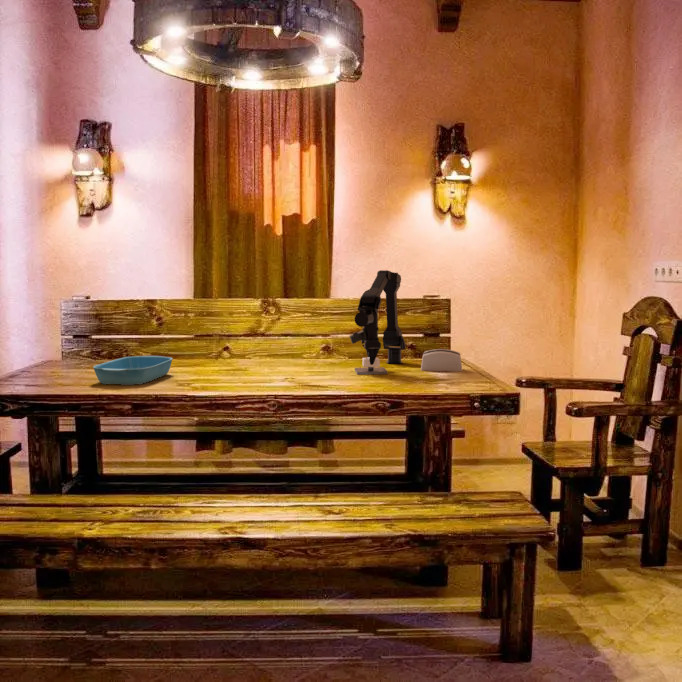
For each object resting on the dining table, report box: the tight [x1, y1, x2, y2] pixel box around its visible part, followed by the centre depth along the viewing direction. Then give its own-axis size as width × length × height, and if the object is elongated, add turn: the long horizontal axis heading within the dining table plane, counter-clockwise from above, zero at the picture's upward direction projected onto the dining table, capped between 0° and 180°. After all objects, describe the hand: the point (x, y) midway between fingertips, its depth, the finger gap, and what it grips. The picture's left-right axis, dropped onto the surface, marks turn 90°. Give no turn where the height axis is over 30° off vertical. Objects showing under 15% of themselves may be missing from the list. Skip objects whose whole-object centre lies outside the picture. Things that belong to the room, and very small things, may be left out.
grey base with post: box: [354, 356, 388, 376], centre depth 292 cm, size 12×12×8 cm
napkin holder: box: [420, 348, 463, 372], centre depth 296 cm, size 17×5×10 cm, turn 81°
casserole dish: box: [92, 355, 173, 386], centre depth 279 cm, size 37×22×7 cm, turn 171°
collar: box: [361, 356, 381, 368], centre depth 292 cm, size 6×6×3 cm
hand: (370, 363), depth 292 cm, fingers closed on collar, 6 cm apart
